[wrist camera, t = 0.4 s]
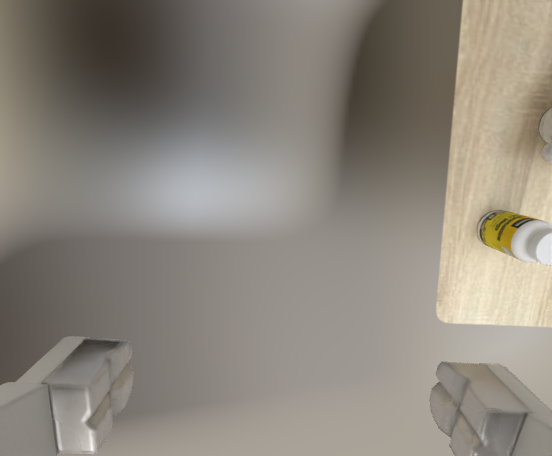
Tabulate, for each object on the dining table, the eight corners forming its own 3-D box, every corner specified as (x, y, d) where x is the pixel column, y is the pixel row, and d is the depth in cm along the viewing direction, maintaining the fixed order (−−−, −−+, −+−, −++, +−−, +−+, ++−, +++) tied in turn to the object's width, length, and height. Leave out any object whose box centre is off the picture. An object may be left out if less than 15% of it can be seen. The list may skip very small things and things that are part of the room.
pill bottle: (494, 201, 49) (557, 215, 38) (520, 224, 50) (588, 243, 39) (467, 231, 50) (521, 253, 40) (493, 252, 51) (552, 279, 41)
